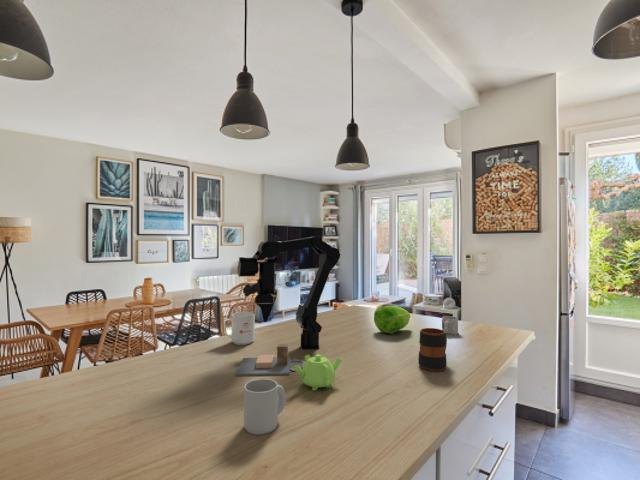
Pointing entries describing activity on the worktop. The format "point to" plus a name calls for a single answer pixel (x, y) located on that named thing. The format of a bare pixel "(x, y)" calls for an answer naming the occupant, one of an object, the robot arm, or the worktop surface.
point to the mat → (250, 368)
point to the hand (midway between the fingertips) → (266, 318)
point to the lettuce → (391, 318)
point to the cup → (262, 405)
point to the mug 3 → (450, 325)
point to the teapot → (317, 371)
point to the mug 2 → (432, 349)
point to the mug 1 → (242, 328)
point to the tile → (265, 361)
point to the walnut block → (282, 354)
